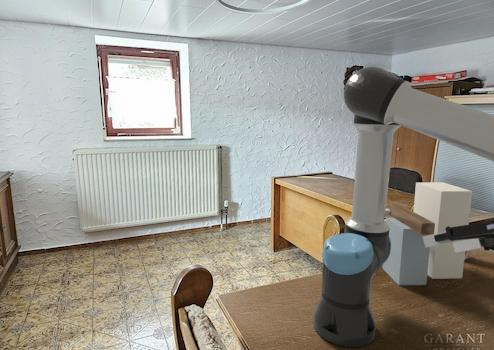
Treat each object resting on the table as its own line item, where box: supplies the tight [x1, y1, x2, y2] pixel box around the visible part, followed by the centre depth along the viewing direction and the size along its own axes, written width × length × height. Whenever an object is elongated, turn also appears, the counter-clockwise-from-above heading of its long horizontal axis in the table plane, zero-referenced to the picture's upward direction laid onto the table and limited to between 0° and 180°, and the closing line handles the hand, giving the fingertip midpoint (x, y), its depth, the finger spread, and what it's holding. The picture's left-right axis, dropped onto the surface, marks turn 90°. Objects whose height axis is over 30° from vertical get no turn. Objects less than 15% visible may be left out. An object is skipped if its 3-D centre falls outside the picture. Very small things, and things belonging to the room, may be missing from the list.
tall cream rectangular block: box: [412, 181, 473, 280], centre depth 111 cm, size 10×15×30 cm, turn 1°
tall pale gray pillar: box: [381, 216, 430, 286], centre depth 106 cm, size 9×12×19 cm
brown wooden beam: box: [385, 203, 435, 235], centre depth 104 cm, size 9×22×4 cm, turn 1°
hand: (440, 245), depth 83 cm, fingers open, 13 cm apart
